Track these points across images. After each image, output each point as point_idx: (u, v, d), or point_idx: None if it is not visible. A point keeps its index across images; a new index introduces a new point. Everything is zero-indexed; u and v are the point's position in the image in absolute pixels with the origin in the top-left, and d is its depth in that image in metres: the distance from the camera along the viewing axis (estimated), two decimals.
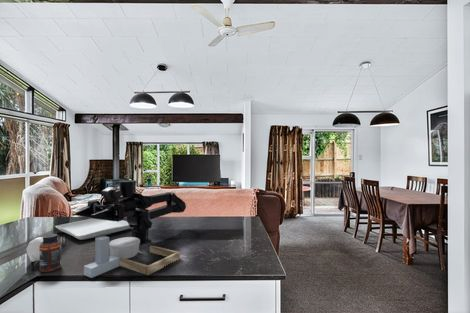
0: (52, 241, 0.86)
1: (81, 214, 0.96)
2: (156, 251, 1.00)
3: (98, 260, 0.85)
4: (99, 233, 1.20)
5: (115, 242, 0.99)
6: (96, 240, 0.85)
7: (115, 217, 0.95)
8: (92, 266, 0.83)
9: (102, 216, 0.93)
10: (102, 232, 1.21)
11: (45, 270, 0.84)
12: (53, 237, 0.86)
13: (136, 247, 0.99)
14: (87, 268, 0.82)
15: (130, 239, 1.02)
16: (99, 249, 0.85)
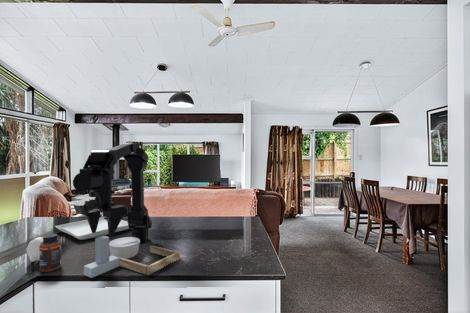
0: (52, 241, 0.86)
1: (95, 226, 0.89)
2: (156, 251, 1.00)
3: (98, 260, 0.85)
4: (99, 233, 1.20)
5: (115, 242, 0.99)
6: (96, 240, 0.85)
7: (122, 215, 0.84)
8: (92, 266, 0.83)
9: (114, 226, 0.84)
10: (102, 232, 1.21)
11: (45, 270, 0.84)
12: (53, 237, 0.86)
13: (136, 247, 0.99)
14: (87, 268, 0.82)
15: (130, 239, 1.02)
16: (99, 249, 0.85)
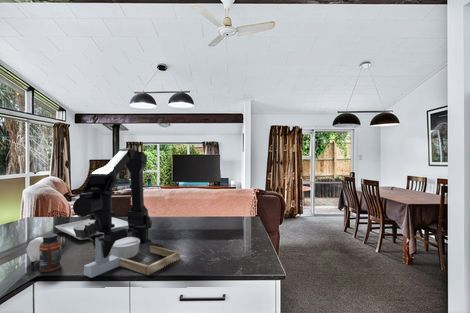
0: (52, 241, 0.86)
1: None
2: (156, 251, 1.00)
3: (98, 260, 0.85)
4: None
5: (115, 242, 0.99)
6: (96, 240, 0.85)
7: None
8: (92, 266, 0.83)
9: (109, 247, 0.85)
10: None
11: (45, 270, 0.84)
12: (53, 237, 0.86)
13: (136, 247, 0.99)
14: (87, 268, 0.82)
15: (130, 239, 1.02)
16: (99, 249, 0.85)
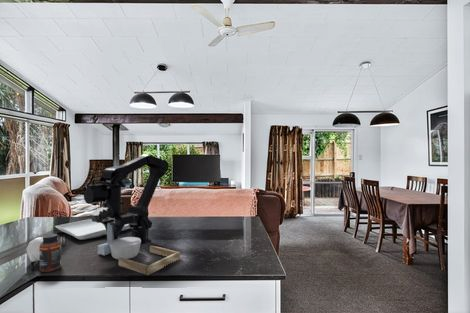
0: (52, 241, 0.86)
1: None
2: (156, 251, 1.00)
3: (109, 241, 1.02)
4: (99, 233, 1.20)
5: (116, 241, 0.99)
6: (108, 224, 1.02)
7: None
8: (105, 246, 0.99)
9: (118, 231, 1.02)
10: (102, 232, 1.21)
11: (45, 270, 0.84)
12: (53, 237, 0.86)
13: (137, 247, 0.98)
14: (100, 247, 0.99)
15: (131, 239, 1.02)
16: (110, 232, 1.01)
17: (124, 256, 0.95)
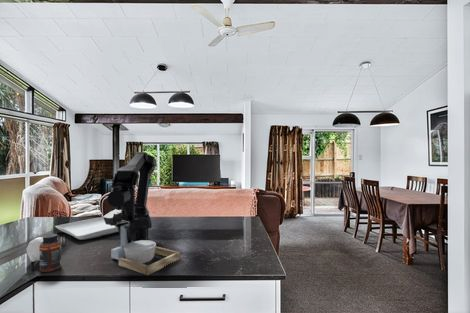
0: (52, 241, 0.86)
1: None
2: (156, 251, 1.00)
3: (123, 245, 0.98)
4: (99, 233, 1.20)
5: (130, 245, 0.95)
6: (121, 227, 0.98)
7: None
8: (118, 249, 0.95)
9: (132, 234, 0.98)
10: (102, 232, 1.21)
11: (45, 270, 0.84)
12: (53, 237, 0.86)
13: (153, 251, 0.94)
14: (114, 251, 0.95)
15: (145, 242, 0.98)
16: (124, 235, 0.97)
17: (139, 261, 0.91)
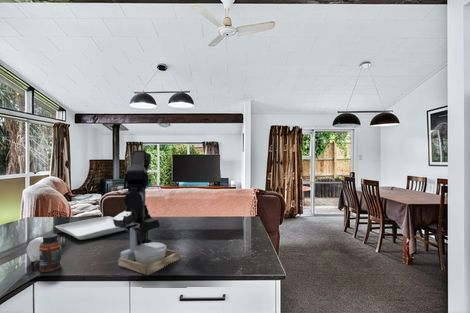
0: (52, 241, 0.86)
1: None
2: None
3: (132, 248, 0.95)
4: (99, 233, 1.20)
5: (140, 248, 0.92)
6: (130, 229, 0.96)
7: None
8: (128, 252, 0.93)
9: (142, 236, 0.96)
10: (102, 232, 1.21)
11: (45, 270, 0.84)
12: (53, 237, 0.86)
13: (163, 253, 0.92)
14: (124, 254, 0.92)
15: (156, 245, 0.95)
16: (133, 237, 0.95)
17: (150, 264, 0.88)
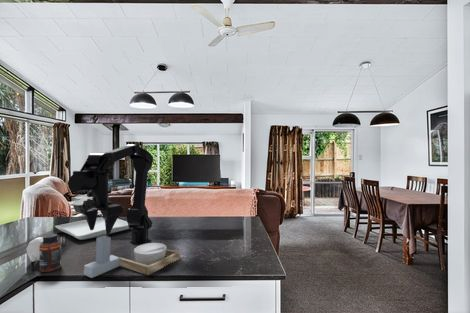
0: (52, 241, 0.86)
1: (93, 224, 0.95)
2: None
3: (98, 260, 0.85)
4: (99, 233, 1.20)
5: (140, 248, 0.92)
6: (97, 240, 0.85)
7: (118, 214, 0.90)
8: (93, 266, 0.82)
9: (111, 224, 0.90)
10: (102, 232, 1.21)
11: (45, 270, 0.84)
12: (53, 237, 0.86)
13: (163, 254, 0.92)
14: (87, 268, 0.82)
15: (156, 245, 0.95)
16: (100, 249, 0.84)
17: (150, 264, 0.88)
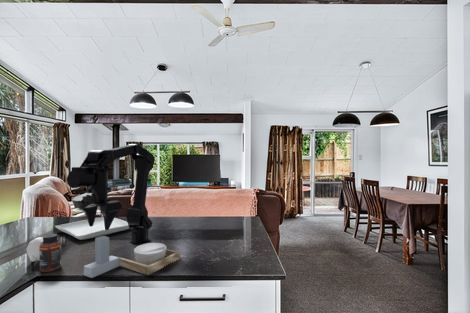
0: (52, 241, 0.86)
1: (93, 220, 0.96)
2: None
3: (98, 260, 0.85)
4: (99, 233, 1.20)
5: (140, 248, 0.92)
6: (96, 240, 0.85)
7: (117, 210, 0.91)
8: (92, 266, 0.83)
9: (110, 220, 0.91)
10: (102, 232, 1.21)
11: (45, 270, 0.84)
12: (53, 237, 0.86)
13: (163, 254, 0.92)
14: (87, 268, 0.82)
15: (156, 245, 0.95)
16: (99, 249, 0.85)
17: (150, 264, 0.88)
